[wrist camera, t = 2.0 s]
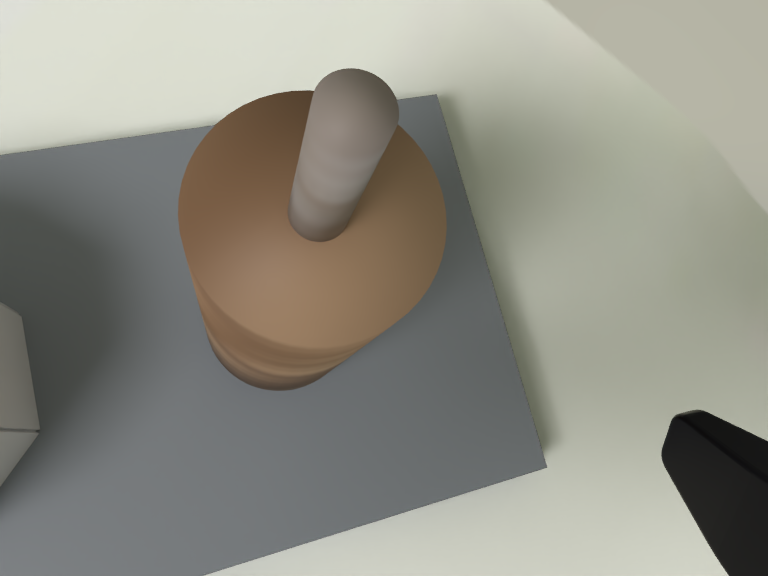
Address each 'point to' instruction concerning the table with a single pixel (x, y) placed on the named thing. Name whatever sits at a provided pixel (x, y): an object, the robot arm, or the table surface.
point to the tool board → (219, 382)
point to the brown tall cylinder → (308, 228)
